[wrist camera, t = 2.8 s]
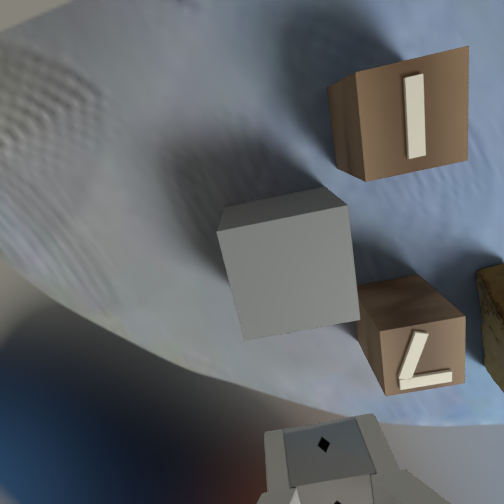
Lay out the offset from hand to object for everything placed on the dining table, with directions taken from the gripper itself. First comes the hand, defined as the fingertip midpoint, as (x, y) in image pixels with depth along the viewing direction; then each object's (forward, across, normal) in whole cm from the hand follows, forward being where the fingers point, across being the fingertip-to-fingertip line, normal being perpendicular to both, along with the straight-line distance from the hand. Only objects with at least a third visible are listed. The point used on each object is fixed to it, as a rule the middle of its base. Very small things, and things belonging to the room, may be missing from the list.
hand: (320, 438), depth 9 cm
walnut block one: (+16, -8, -7) cm, 19 cm away
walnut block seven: (+16, -8, +7) cm, 19 cm away
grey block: (+16, -1, 0) cm, 16 cm away
